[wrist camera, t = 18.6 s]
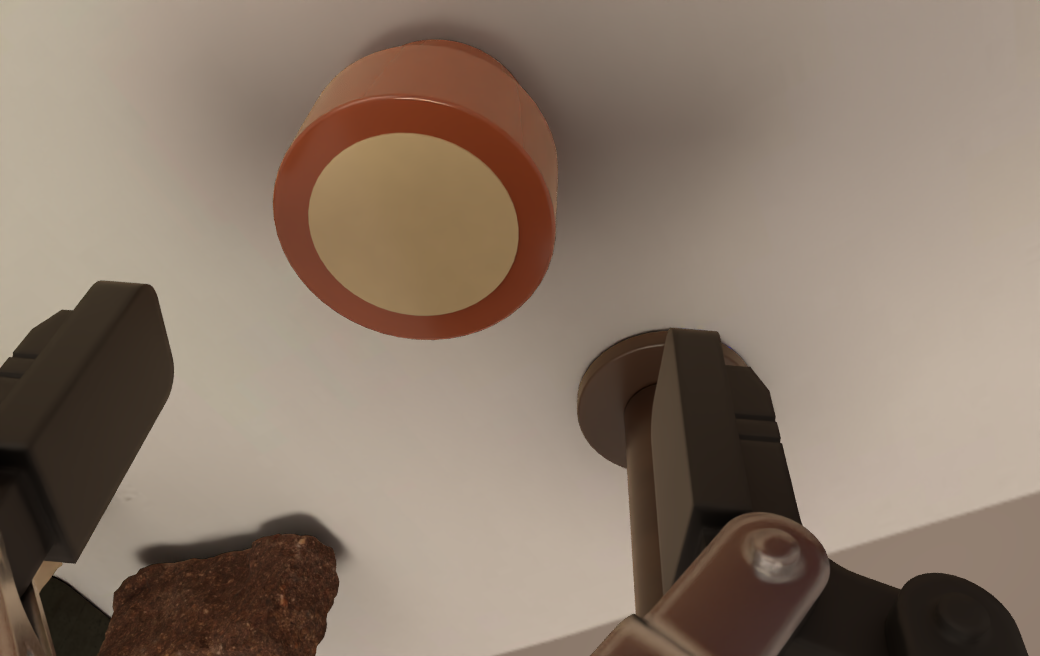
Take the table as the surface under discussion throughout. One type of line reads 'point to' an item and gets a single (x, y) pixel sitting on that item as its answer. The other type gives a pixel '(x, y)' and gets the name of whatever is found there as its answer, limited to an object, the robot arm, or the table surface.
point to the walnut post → (631, 441)
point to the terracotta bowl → (420, 192)
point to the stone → (228, 603)
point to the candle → (72, 620)
